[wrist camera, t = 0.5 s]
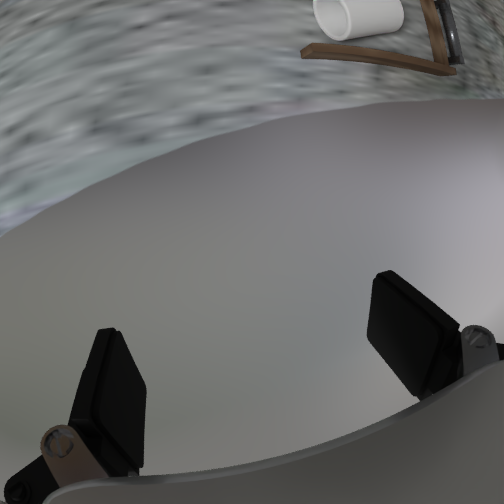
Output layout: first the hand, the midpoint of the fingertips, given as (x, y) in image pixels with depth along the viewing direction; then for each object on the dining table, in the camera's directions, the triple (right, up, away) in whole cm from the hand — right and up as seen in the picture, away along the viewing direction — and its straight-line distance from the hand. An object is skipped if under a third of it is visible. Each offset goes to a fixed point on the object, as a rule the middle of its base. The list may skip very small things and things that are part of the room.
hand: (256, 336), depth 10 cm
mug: (+12, +38, +20) cm, 45 cm away
